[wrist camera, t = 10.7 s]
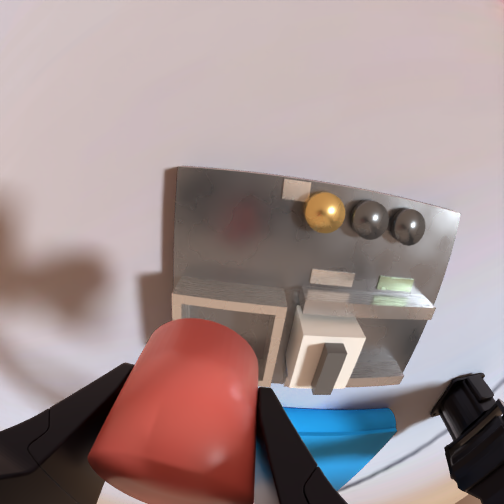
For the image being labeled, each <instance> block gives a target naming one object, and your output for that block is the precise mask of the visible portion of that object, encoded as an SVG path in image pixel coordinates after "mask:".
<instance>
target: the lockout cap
mask: <svg viewBox="0 0 504 504" xmlns="http://www.w3.org/2000/svg"><path fill="white" fill-rule="evenodd" d="M258 371H259V367H258V360H257V357H256V354H255V352H254V350H253V349H252V347H251V346H250V345H249V344H248V342H247V341H246V340H245V339H244V338H243V337H241V336H240V335H239V334H238V333H236V332H235V331H233V330H232V329H230V328H228V327H226V326H224V325H221V324H219V323H216V322H213V321H209V320H204V319H197V318H184V319H177V320H173V321H170V322H168V323H165V324H163V325H162V326H160V327H159V328H158V329H156V330H155V331H154V333H153V334H152V335H151V337H150V339H149V340H148V342H147V344H146V346H145V348H144V349H143V351H142V353H141V355H140V356H139V358H138V360H137V362H136V364H135V365H134V367H133V369H132V371H131V373H130V375H129V376H128V378H127V380H126V382H125V384H124V386H123V388H122V389H121V391H120V393H119V395H118V397H117V399H116V401H115V403H114V405H113V407H112V408H111V410H110V412H109V414H108V416H107V418H106V420H105V422H104V424H103V426H102V428H101V430H100V432H99V434H98V436H97V438H96V440H95V442H94V444H93V446H92V448H91V450H90V453H89V455H88V462H89V464H90V466H91V467H92V469H93V470H94V471H95V472H96V473H97V474H98V475H99V476H100V477H101V478H102V479H104V480H105V481H106V482H107V483H109V484H110V485H112V486H113V487H115V488H116V489H118V490H120V491H122V492H123V493H125V494H127V495H129V496H131V497H133V498H135V499H138V500H140V501H142V502H145V503H148V504H253V503H254V485H255V460H256V433H257V402H258Z"/></svg>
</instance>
